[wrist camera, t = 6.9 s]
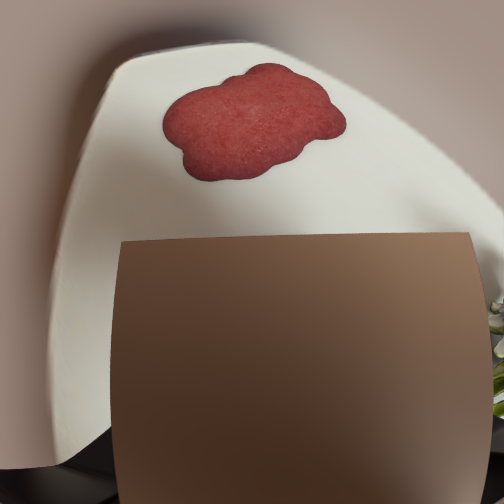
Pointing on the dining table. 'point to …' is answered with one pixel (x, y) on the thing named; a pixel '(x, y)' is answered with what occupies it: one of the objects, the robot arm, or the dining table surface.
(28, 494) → the robot arm
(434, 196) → the dining table surface
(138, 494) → the walnut block
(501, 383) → the passion flower
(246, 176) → the patty
